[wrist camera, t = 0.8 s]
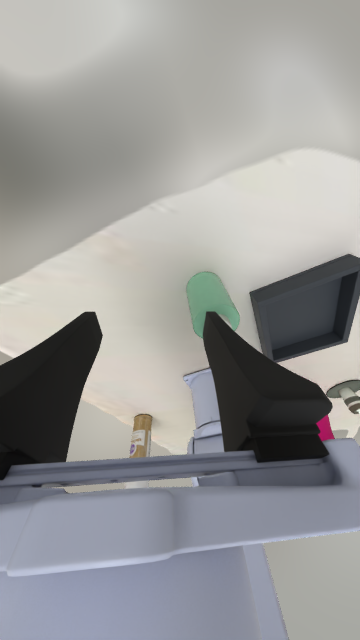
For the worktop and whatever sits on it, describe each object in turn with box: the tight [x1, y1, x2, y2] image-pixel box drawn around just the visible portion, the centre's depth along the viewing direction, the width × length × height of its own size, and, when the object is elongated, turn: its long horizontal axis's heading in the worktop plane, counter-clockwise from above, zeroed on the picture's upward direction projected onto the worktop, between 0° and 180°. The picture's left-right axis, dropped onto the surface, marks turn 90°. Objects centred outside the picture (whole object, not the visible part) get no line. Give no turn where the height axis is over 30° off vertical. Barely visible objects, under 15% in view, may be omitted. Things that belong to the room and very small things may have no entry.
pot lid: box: [327, 380, 360, 414], centre depth 39 cm, size 12×12×5 cm
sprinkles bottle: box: [125, 415, 152, 489], centre depth 38 cm, size 5×5×13 cm
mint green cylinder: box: [186, 272, 240, 338], centre depth 19 cm, size 4×4×8 cm
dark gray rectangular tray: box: [250, 254, 360, 363], centre depth 24 cm, size 14×12×2 cm
